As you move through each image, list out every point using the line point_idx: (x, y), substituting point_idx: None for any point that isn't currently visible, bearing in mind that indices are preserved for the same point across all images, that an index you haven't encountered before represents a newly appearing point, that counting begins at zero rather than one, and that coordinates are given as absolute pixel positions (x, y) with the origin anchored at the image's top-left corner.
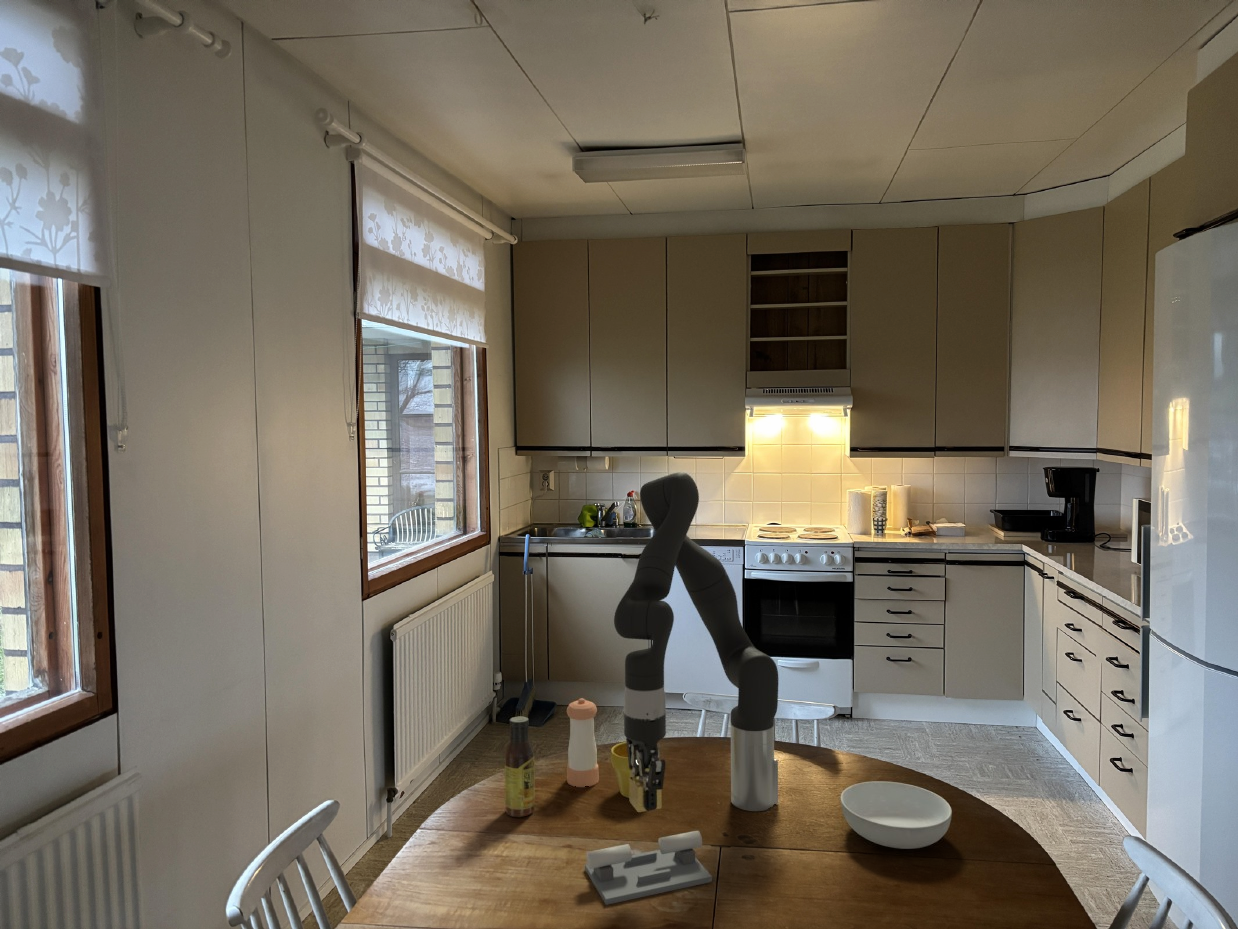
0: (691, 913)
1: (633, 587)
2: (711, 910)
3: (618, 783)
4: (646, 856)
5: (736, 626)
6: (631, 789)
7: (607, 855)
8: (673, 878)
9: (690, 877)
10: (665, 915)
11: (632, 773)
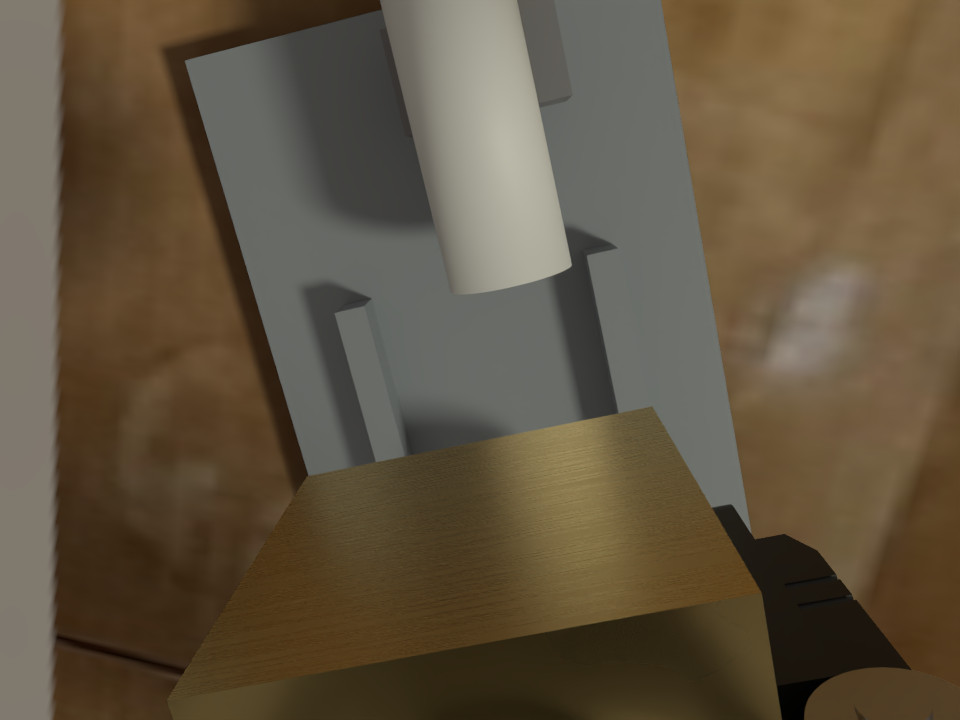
0: (98, 541)
1: None
2: (122, 642)
3: None
4: (615, 400)
5: None
6: (580, 516)
7: (409, 83)
8: None
9: None
10: (83, 405)
11: (899, 708)
